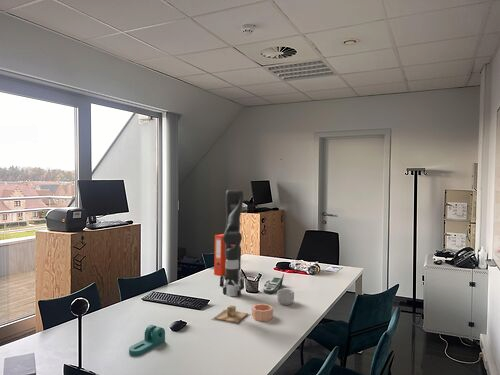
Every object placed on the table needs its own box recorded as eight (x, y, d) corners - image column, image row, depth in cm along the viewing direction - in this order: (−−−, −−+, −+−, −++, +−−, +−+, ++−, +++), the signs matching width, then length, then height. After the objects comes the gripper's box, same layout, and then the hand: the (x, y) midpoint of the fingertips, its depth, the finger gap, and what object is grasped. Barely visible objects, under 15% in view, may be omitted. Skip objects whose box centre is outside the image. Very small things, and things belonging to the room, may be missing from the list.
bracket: (154, 338, 181) (154, 322, 181) (165, 341, 178) (165, 325, 177) (125, 353, 166) (125, 336, 165) (136, 357, 162) (136, 340, 162)
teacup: (293, 307, 226) (293, 294, 226) (275, 305, 228) (275, 292, 228) (295, 299, 240) (295, 287, 240) (278, 298, 242) (278, 286, 242)
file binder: (235, 272, 307) (235, 233, 306) (221, 276, 293) (221, 236, 292) (228, 270, 312) (228, 232, 310) (214, 274, 298) (214, 235, 297)
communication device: (258, 293, 253) (258, 281, 253) (268, 283, 275) (268, 272, 275) (274, 295, 249) (274, 282, 248) (284, 285, 271) (284, 273, 271)
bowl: (249, 319, 206) (249, 309, 205) (257, 313, 216) (257, 303, 215) (267, 323, 201) (268, 312, 201) (274, 316, 211) (274, 305, 211)
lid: (214, 319, 205) (214, 308, 205) (226, 310, 218) (226, 301, 217) (237, 323, 199) (237, 312, 199) (247, 314, 212) (247, 304, 212)
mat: (210, 320, 204) (210, 319, 204) (225, 310, 220) (225, 309, 220) (238, 325, 197) (238, 325, 197) (251, 314, 213) (251, 314, 213)
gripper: (217, 267, 207) (217, 295, 207) (240, 269, 201) (240, 299, 202) (223, 264, 214) (223, 292, 214) (246, 266, 208) (246, 295, 208)
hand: (231, 295), depth 208 cm, fingers open, 8 cm apart
